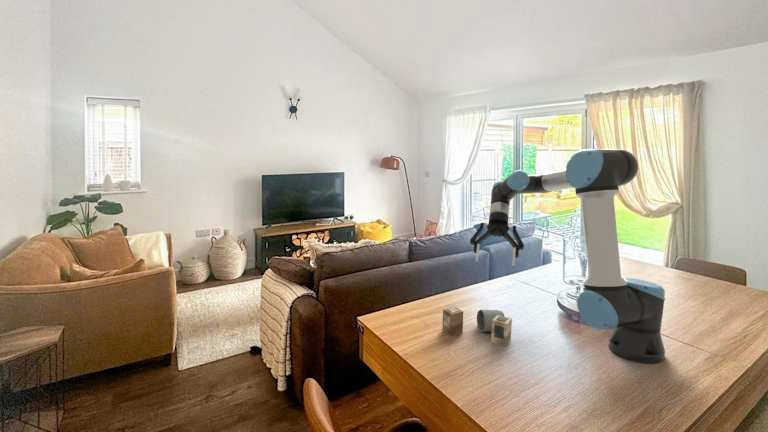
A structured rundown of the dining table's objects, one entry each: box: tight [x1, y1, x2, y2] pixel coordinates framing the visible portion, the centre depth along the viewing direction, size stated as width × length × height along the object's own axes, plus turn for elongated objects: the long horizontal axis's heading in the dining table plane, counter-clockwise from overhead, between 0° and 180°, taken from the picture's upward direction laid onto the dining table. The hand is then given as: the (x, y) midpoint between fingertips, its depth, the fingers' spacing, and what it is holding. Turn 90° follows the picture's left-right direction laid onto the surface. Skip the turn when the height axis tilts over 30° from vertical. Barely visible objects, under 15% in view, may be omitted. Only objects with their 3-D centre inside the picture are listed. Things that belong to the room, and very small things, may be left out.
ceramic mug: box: [476, 309, 506, 333], centre depth 143 cm, size 11×8×8 cm
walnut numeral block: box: [441, 306, 464, 337], centre depth 140 cm, size 5×5×8 cm
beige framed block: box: [490, 315, 513, 347], centre depth 132 cm, size 5×5×8 cm
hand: (494, 262), depth 151 cm, fingers open, 13 cm apart
